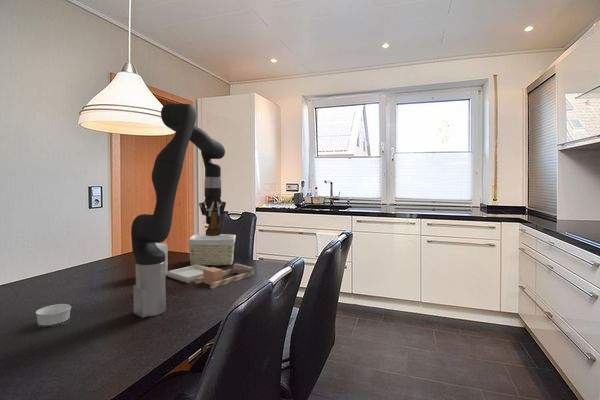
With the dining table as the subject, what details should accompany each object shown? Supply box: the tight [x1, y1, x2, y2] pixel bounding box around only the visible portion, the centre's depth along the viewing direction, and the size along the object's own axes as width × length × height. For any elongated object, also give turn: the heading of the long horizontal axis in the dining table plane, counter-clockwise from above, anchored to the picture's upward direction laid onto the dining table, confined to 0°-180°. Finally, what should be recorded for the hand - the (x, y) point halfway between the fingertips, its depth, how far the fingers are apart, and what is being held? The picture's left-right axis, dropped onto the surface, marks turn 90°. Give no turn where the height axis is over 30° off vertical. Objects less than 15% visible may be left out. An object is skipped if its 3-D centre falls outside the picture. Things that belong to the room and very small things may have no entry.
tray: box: [167, 265, 210, 284], centre depth 154 cm, size 16×16×2 cm
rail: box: [194, 262, 255, 290], centre depth 149 cm, size 24×12×4 cm, turn 143°
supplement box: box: [155, 242, 169, 276], centre depth 151 cm, size 9×9×15 cm
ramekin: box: [35, 303, 72, 326], centre depth 103 cm, size 9×9×4 cm
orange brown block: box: [202, 266, 224, 286], centre depth 143 cm, size 5×7×6 cm
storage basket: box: [187, 233, 237, 266], centre depth 178 cm, size 24×16×15 cm
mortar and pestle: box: [205, 198, 221, 236], centre depth 152 cm, size 7×6×18 cm
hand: (212, 223), depth 152 cm, fingers closed on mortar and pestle, 4 cm apart
